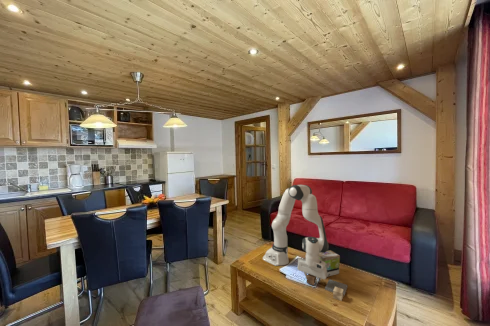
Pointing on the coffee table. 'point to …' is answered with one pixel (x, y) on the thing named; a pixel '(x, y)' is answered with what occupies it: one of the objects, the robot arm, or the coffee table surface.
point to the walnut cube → (311, 279)
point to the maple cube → (338, 293)
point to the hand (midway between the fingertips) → (311, 280)
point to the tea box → (330, 262)
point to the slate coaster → (333, 284)
